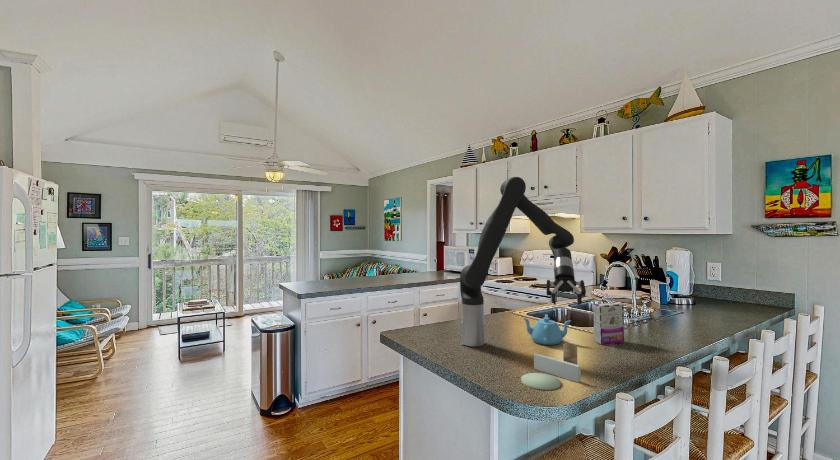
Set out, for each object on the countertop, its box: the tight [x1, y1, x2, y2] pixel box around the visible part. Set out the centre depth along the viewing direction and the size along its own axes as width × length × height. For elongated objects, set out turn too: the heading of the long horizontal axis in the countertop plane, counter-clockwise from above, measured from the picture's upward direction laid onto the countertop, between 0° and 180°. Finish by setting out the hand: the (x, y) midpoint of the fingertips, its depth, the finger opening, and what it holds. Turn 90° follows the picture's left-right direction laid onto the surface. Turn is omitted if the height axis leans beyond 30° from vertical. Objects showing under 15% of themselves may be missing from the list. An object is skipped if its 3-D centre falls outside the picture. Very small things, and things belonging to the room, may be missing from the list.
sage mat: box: [520, 372, 562, 391], centre depth 118 cm, size 12×12×1 cm
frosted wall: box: [533, 353, 582, 383], centre depth 123 cm, size 16×2×5 cm, turn 39°
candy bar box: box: [592, 302, 625, 346], centre depth 158 cm, size 11×5×16 cm, turn 102°
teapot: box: [521, 313, 572, 346], centre depth 161 cm, size 15×15×10 cm
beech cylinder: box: [562, 342, 579, 365], centre depth 129 cm, size 4×4×8 cm
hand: (566, 303), depth 141 cm, fingers open, 8 cm apart
